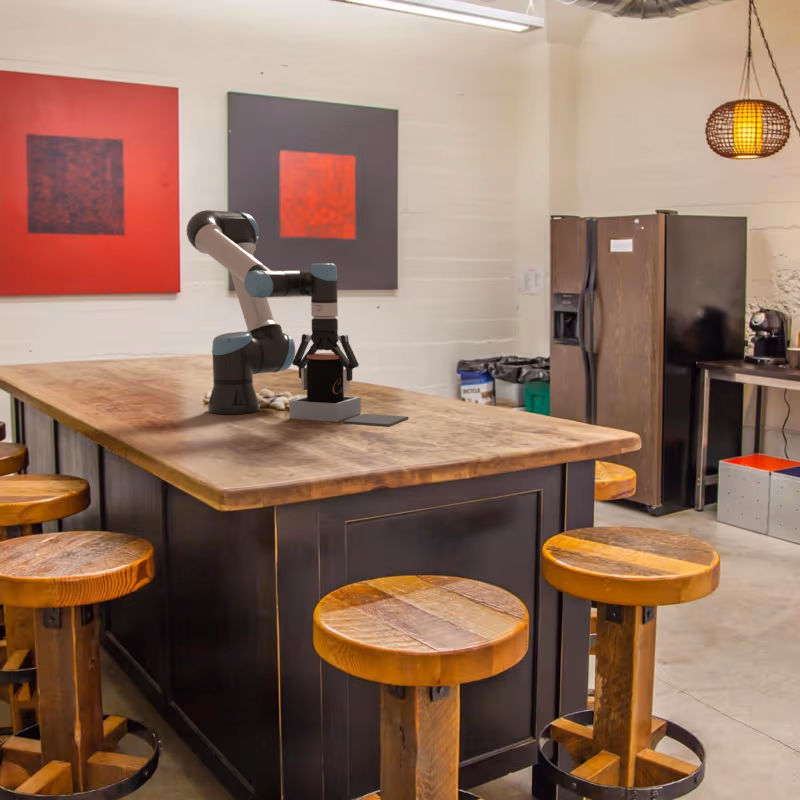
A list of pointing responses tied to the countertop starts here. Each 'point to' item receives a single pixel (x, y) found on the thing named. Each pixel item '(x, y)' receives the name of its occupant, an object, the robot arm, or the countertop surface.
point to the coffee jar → (324, 378)
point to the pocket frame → (325, 409)
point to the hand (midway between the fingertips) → (325, 391)
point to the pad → (375, 419)
